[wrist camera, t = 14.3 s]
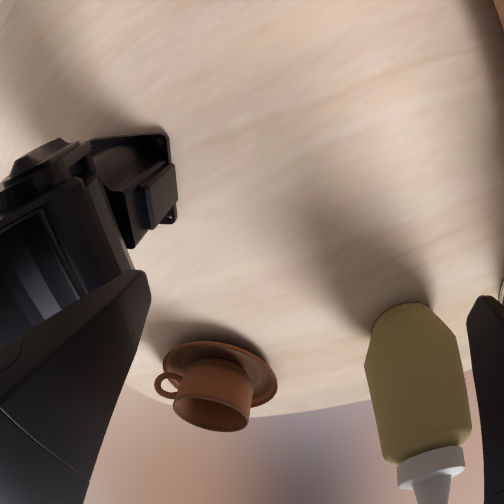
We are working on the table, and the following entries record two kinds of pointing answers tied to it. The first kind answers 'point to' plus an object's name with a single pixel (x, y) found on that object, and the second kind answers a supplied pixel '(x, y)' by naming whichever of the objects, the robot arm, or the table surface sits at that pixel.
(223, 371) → the cup and saucer
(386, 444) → the squeeze bottle
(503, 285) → the coffee can
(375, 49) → the table surface
